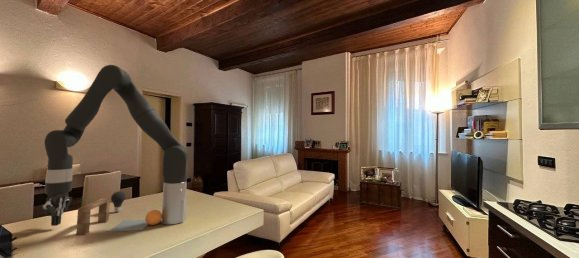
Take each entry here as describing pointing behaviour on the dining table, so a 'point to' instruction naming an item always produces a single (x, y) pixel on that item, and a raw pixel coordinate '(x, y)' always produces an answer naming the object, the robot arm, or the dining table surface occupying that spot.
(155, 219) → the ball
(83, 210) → the bridge
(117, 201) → the light bulb
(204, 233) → the dining table surface
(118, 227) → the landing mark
